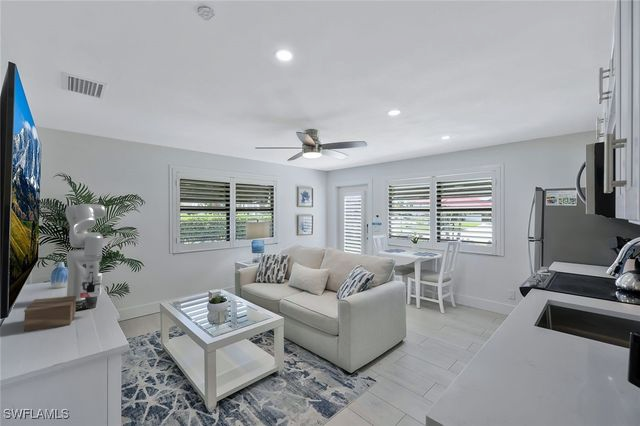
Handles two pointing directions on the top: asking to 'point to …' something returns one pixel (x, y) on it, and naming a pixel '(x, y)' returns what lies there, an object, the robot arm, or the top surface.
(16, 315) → the top surface
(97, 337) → the top surface
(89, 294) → the ink box
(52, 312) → the wooden box
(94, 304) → the beverage cup
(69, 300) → the brown wooden board
